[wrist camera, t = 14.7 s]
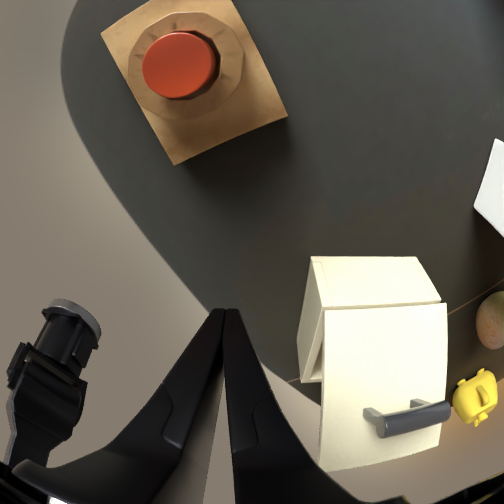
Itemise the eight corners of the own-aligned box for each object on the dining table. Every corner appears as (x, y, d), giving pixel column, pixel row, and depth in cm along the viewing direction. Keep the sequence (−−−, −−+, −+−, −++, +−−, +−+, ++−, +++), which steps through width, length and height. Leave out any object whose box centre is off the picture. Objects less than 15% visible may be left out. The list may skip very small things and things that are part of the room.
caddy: (381, 333, 31) (394, 373, 26) (296, 338, 31) (300, 383, 26) (416, 256, 24) (441, 299, 20) (310, 256, 24) (322, 306, 20)
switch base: (285, 112, 17) (291, 121, 14) (180, 158, 19) (166, 176, 16) (216, -23, 11) (208, -40, 9) (111, 35, 13) (86, 32, 11)
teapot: (482, 383, 47) (495, 418, 39) (446, 403, 51) (456, 438, 42) (495, 353, 38) (513, 396, 30) (451, 378, 42) (466, 423, 33)
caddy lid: (433, 443, 16) (467, 460, 11) (316, 468, 16) (332, 502, 11) (441, 303, 20) (481, 294, 15) (322, 311, 20) (344, 304, 15)
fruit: (489, 278, 26) (519, 325, 20) (513, 283, 27) (540, 324, 20) (458, 320, 31) (480, 367, 24) (485, 321, 31) (506, 362, 25)
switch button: (227, 77, 13) (223, 78, 12) (169, 105, 14) (160, 110, 13) (199, 25, 11) (192, 20, 10) (142, 56, 12) (130, 55, 11)
